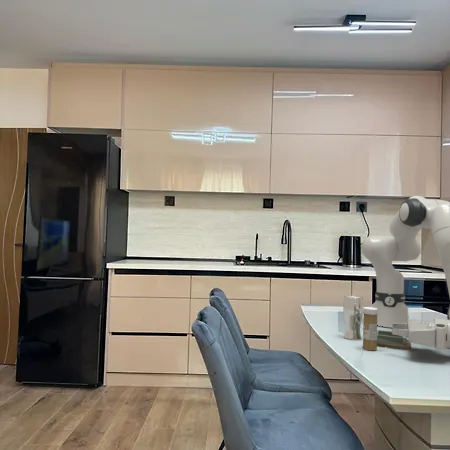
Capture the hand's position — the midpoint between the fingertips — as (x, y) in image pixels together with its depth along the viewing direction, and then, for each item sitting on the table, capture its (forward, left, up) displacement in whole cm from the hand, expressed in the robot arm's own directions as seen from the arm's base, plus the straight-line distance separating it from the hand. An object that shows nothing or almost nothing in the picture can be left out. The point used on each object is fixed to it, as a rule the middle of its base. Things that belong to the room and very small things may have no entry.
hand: (392, 328), depth 135 cm
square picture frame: (-12, -1, -7) cm, 14 cm away
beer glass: (-15, -14, -8) cm, 21 cm away
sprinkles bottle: (0, -7, -8) cm, 10 cm away
